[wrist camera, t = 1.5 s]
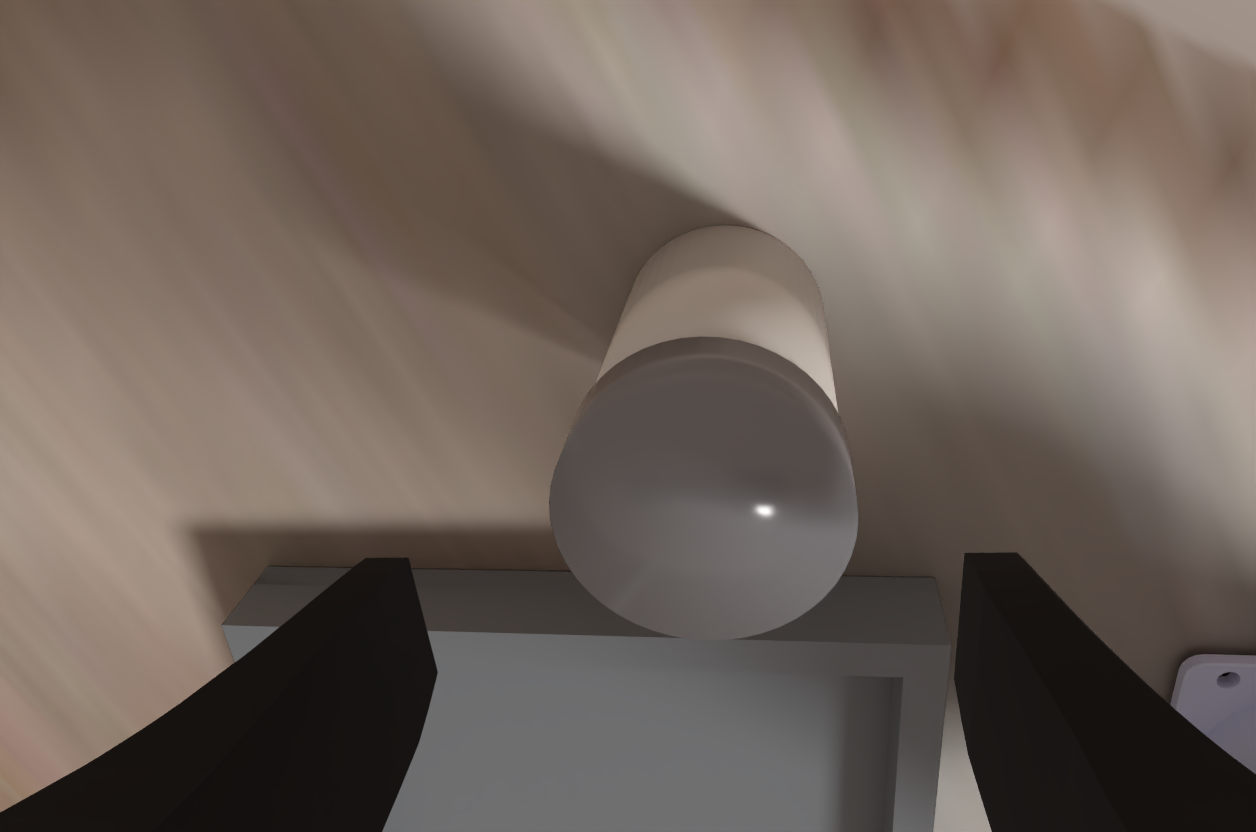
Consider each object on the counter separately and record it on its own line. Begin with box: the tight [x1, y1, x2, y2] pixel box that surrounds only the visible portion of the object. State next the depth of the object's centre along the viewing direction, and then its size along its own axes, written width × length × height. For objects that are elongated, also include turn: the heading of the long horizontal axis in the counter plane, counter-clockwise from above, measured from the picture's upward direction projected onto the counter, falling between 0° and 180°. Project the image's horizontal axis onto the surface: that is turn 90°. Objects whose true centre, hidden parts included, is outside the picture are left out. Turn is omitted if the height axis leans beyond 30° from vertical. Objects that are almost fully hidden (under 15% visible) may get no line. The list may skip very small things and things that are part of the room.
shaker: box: [549, 225, 859, 640], centre depth 17 cm, size 5×5×8 cm
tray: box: [221, 567, 951, 832], centre depth 27 cm, size 18×16×2 cm
